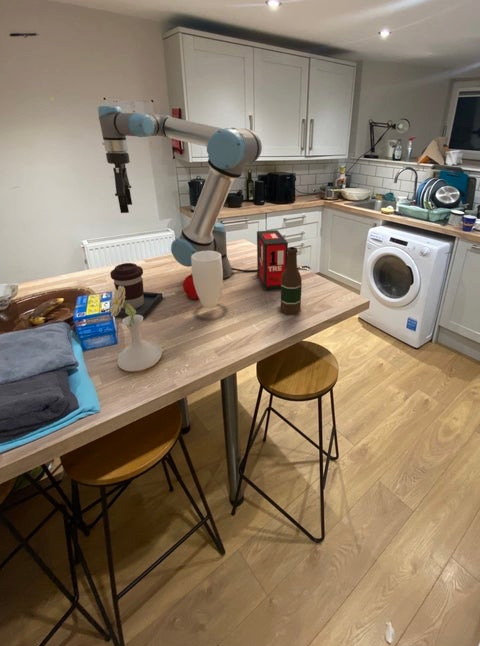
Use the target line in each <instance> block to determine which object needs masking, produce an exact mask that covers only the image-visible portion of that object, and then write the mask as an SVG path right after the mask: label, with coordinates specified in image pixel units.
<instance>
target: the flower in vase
mask: <svg viewBox="0 0 480 646" xmlns="http://www.w3.org/2000/svg"><path fill="white" fill-rule="evenodd" d="M124 299H125V288H124V286H123V287H122V286H119V287H118V291H117V289H116V288H115V289H114V294H113V298H111V299H110V302H111V303H113V304H112V305H111V308H110V310H109V312H111V311H112V312H111V316H114V317H115V316H116V315H118V313H119V312H120V310H121V308H122V307H123V304H124V305H125V306H126V309H125V312H126V314H128V315H129V316H128V317H126V318H122V320H121V322H122V324H123V325H124V326H126V327H127V329H128V330H129V333H130V336H131V343H130V344H129V345H127V346H126V347H125V348H124V349H122V351H121V352H120V353H119V354H118V357H117V360H116V364H117V366H118V368H120V369H122V370H123V371H126V372H140V371H144V370H147V369H149V368H151V367H153V366H154V365H156V364H157V363H158V362H159V360H160V359H161V357H162V356H163V350H162V348H161V347H160V346H159V345H158V344H156V343H154V342H151V341H145V340H143V339H142V336H141V335H142V334H141V324H142V322H143V316H141V315H135V314H136V310H135V309H134V308H133V307H132V306H131V305H130V304H129V303H128V304H126V303H125V302H124Z"/></svg>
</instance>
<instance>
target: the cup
mask: <svg viewBox="0 0 480 646" xmlns="http://www.w3.org/2000/svg"><path fill="white" fill-rule="evenodd" d="M191 264H192V266H191V273H192V274H191V275H192V276H193V282H194V286H195V289H196V292H197V295H198V297H199V298H198V299H199V301H200V303H201V304H202V306H203V308H206V309H213V308H215V307H217V305H218V303H219V301H220V298H221V294H222V289H223V283H224V282H223V281H224V279H223V269H222V259H221V254H220V253H218V252H215V251H200V252H197V253H194V254H193V255H192V256H191Z"/></svg>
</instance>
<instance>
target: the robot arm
mask: <svg viewBox="0 0 480 646" xmlns="http://www.w3.org/2000/svg"><path fill="white" fill-rule="evenodd" d="M97 113H98V120H99V124H100V130H101V135H102V140H103V142H102V143H101V144H102V146H104V150H105V152H106V153H105V156H106V162H107V163H108V164H110V165H114V167H113V169H112V170H113V174H114V175H113V176H114V184H115V193H114V196H115V197H117V199H118V200H117V201H118V204H119V205H118V206H119V210H120V213H121V214H129V213H130V211H129V206H132V205H133V201H132V195H131V189H132V185H131V184H130V180H129V177H128V173H127V172H128V171H127V166H126V164H129V163H130V162H131V161H130V155H129V152H128V151H129V148H128V141H127V136H128V137H138V138H147V137H148V138H149V137H163V138H168V139H172V140H177V141H181V142H185V143H189V144H193V145H197V146H202V147H206V153H207V157H208V159H207V165H208V167H209V171H208V174H207V176H206V179H205V181H204V184H203V186H202V188H201V192H200V195H199V197H198V199H197V202H196V205H195V208H194V210H193V213H192V216H191V219H190V221H189V223H187V224H185V225H184V226H183V228H182V230H181V233H180V235H179V237H177V238H175V239H174V240H173V241H172V242H171V244H170V253H171V254H172V256H173V258H174V260H175V261H176V262H177V263H179V264H180V265H181V266H183V267H188V268H189V267H190V268H192V264H191V256H192V255H193V254H194V253H197V252H200V251H215V252H218V253H220V254H221V259H222V269H223V280H225V279H228V278H230V277H231V275H232V274H233V271H236V272H237V271H238V272H243V273H254V272H257V269H240V268H236V267H235V268H234V267H232V265H231V263H230V260H229V258H228V252H227V251H228V249H227V232H226V225H225V224H223V223H221V222H217V221H218V219H219V216H220V215H221V212H222V209H223V207H224V204H225V202H226V200H227V198H228V195H229V193H230V191H231V188H232V186H233V184H234V181H235V180H238V179H240V178H241V176H242V174H243V172H244V169H245V168H246V165H250V164H253V163H254V162H255V161H258V159H259V158H260V156H261V154H262V151H263V146H262V141H261V139H260V137H259V135H258V134H257V133H256V132H254V131H253V130H251V129H248V128H236V127H225V128H222V127H217V126H213V125H209V124H204V123H201V122H195V121H192V120H191V121H190V120H186V119H182V118H177V117H173V116H170V115H168V114H163V113H159V114H156V113H141V112H123V111H122V108H121V106H118V105H117V106H114V105H99V106H97ZM300 267H302V268H300ZM305 268H306V269H308V270H311V267H310V266H309V265H303V266H297V270H300V269H305Z"/></svg>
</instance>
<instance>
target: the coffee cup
mask: <svg viewBox="0 0 480 646" xmlns="http://www.w3.org/2000/svg"><path fill="white" fill-rule="evenodd" d="M143 270H144V269H143V267H142V266H140V265H138V264H136V263H134V262H125V263H121V264H117V265H116V266H115V267H114V268H113V269H112V270H111V271H110V273H109V274H110V278H111V280H113V284H114V288H115V289H117V291H118V287H119V286H122V287H123V286H124V288H125V299H124V302H125V303H126V304H128V303H129V304H130V305H131V306H132V307H133V308H134V309H136V308H139V307H141V306H142V305H143V304H144V297H143V294H144V292H145V291H144V279H143V275H144V271H143ZM122 308H124V309H126V306H125V305H124V304H123V307H122Z"/></svg>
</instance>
